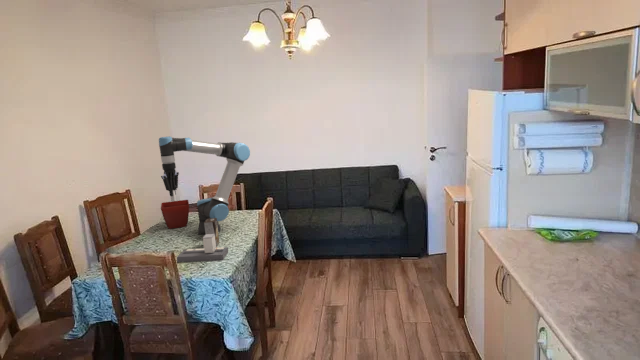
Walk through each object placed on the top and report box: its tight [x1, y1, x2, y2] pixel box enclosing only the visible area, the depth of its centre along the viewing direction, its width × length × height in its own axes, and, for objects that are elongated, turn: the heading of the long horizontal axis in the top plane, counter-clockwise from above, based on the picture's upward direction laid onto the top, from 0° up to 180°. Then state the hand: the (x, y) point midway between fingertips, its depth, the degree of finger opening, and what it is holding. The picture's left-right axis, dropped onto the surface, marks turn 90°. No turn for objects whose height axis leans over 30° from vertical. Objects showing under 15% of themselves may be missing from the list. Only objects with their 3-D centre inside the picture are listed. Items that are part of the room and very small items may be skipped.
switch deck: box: [176, 246, 229, 263], centre depth 242 cm, size 26×12×3 cm, turn 88°
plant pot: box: [160, 199, 190, 230], centre depth 309 cm, size 19×19×17 cm
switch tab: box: [202, 234, 217, 253], centre depth 241 cm, size 5×6×9 cm
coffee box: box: [204, 218, 220, 248], centre depth 261 cm, size 9×6×16 cm
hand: (173, 200), depth 258 cm, fingers closed
